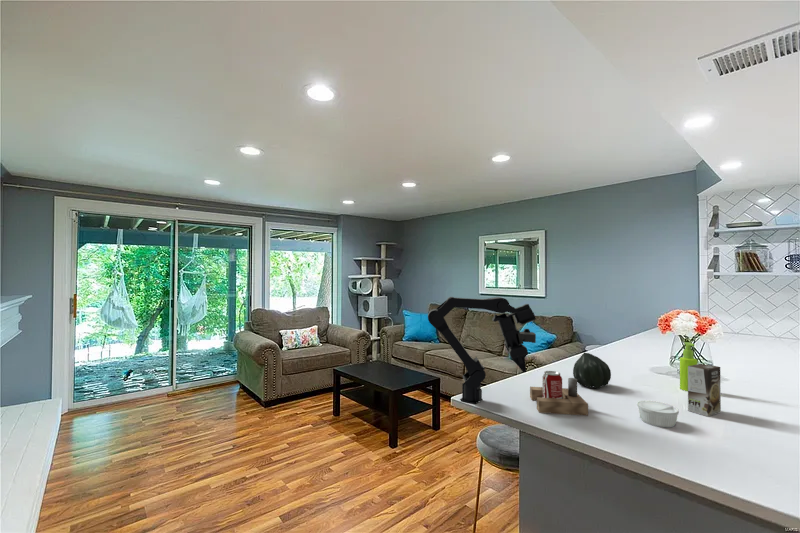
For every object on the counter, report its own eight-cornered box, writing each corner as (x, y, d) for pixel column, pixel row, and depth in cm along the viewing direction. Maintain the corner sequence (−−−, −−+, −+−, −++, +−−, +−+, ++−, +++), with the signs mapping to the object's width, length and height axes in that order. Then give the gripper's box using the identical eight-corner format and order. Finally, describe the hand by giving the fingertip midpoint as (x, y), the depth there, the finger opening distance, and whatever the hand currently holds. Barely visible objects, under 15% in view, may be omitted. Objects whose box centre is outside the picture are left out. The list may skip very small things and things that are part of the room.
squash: (624, 375, 159) (599, 345, 167) (606, 382, 150) (581, 350, 159) (599, 391, 168) (577, 362, 176) (581, 399, 159) (559, 367, 168)
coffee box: (708, 417, 128) (708, 369, 128) (687, 410, 133) (686, 365, 134) (721, 412, 132) (721, 366, 132) (700, 406, 138) (700, 362, 138)
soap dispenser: (683, 391, 155) (682, 343, 156) (678, 387, 162) (677, 340, 162) (700, 393, 153) (700, 344, 154) (694, 388, 160) (694, 341, 160)
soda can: (566, 407, 136) (566, 374, 136) (551, 409, 134) (551, 375, 134) (552, 401, 142) (552, 369, 143) (538, 403, 140) (538, 371, 140)
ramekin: (680, 432, 115) (680, 415, 115) (637, 424, 121) (637, 408, 121) (676, 420, 125) (676, 404, 125) (637, 413, 131) (637, 398, 131)
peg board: (539, 412, 131) (539, 383, 131) (530, 396, 148) (530, 371, 148) (587, 415, 128) (587, 386, 128) (573, 399, 145) (573, 373, 145)
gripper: (534, 326, 132) (549, 369, 131) (525, 318, 150) (538, 356, 150) (503, 336, 134) (518, 378, 133) (498, 327, 152) (511, 364, 151)
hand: (522, 368), depth 142 cm, fingers open, 9 cm apart
